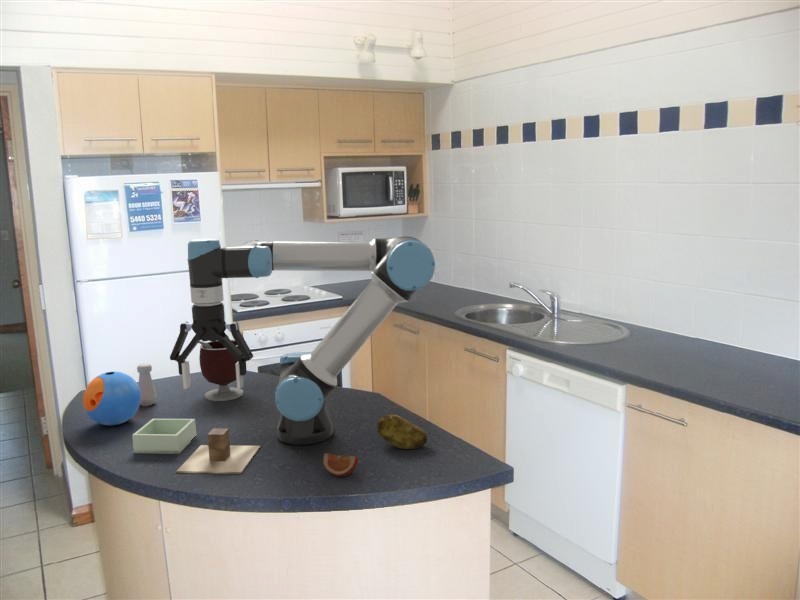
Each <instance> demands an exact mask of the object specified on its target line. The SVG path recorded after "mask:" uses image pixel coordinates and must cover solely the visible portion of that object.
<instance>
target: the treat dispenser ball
mask: <svg viewBox="0 0 800 600" xmlns="http://www.w3.org/2000/svg"><path fill="white" fill-rule="evenodd" d="M138 384H139V383H137V381H136V380H135V379H134V378H133V377H132V376H130V375H129V374H127V373H124V372H122V371H106V372H104V373H101V374H99V375H97V376H95V377H94V378H93V379H92V380H90V382H89V383H88V385H87V386H86V388H85V390H84V393H83V396H82V403H83V407H84V411H85V413H86V414H87V416H88V417H89V418H90V419H91V420H92V421H94V422H96V423H97V424H100V425H101V426H102V425H103V426H118V425H122V424H124V423H126V422H127V421H129V420H131V419H132V418H133V417H134V416H135V414H136V413H137V412H138V410H139V408H140V402H141V392H140V388H139V386H138Z"/></svg>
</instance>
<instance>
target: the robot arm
mask: <svg viewBox="0 0 800 600" xmlns="http://www.w3.org/2000/svg"><path fill="white" fill-rule="evenodd" d="M186 260H187V265H188V275H189V287H190V288H189V289H190V299H191V300H190V301H191V303H192V306H191V315H192V317H191V318H192V323H190V322H188V321H184V322H183V323H181V324H180V325H179V334H178V337H177V338H176V341H175V344H174V345H173V348H172V351H171V353H170V355H169V360H170V361H175V362H177V364H178V365H177V366H178V367H177V368H178V374H179V376H182V385H183V386H182V387H183V390H187V389H188V388H190V387H191V386H192V384H191V383H192V382H191V369H190V360H187V358H188V357H189V356H190V354H191V353H192V351H193V350H194V349H195V348H196V346H197V345H198V344H199V343H198V342H199V341H202V342H210V341H212V342H215V341H217V340H218V341H219V342H220V343H221V344H223V345H224V347H225V348H226V349H227V350H228V351H229V352H230V353H231V354H232V355H233V356H234V358H235V359H236V360H237V361H238V362H237V363H236V379H237V380H236V388H237V390H240V389H242V388H243V387H244V386H245V384H244V376H245V375H247V362H249V361H250V360H252V359H253V358H254V354H253V352H252V350H251V349H250V347H249V345H248V343H247V342H246V340H245V338H244V336H243V334H242V333H241V330H240V326H239V323H238V321H234V322H232V323H231V322H229V323H226V320H225V319H226V317H225V316H226V315H225V304H224V302H223V301H224V289H223V279H236V278H237V279H240V278H243V279H245V278H248V279H249V278H255V279H259V278H265V277H266V278H267V277H270V276H271V275H272V273H273V271H298V272H299V271H300V272H301V271H313V272H314V271H315V272H316V271H317V272H319V271H320V272H370V273H371V281H370V282H369V283H368V284H367V286H366V287H365V288H364V289H363V291H362V292H361V293H360V294H359V295H358V296H357V298H356V299H355V300H353V302H352V304H351V305H350V306H349V307H348V309H347V310H346V311H345V312H344V313H343V314H342V316H341V317H340V318H339V319H338V320H337V322H336V323H334V324H333V326H332V328H331V329H330V330H329V331H328V332H327V334H326V335H325V336H324V337H323V338H322V339H321V340H320V342H318V344H317V345H316V347H314V349H313V350H311V351H298V352H297V351H296V352H290V353H285V354H282V355H280V358H279V364H278V365H279V368H280V370H279V371H280V372H279V373H280V374H279V375H280V376H279V380H278V383H277V386H276V388H275V390H274V391H275V392H274V400H275V402H274V403H275V405H276V408H277V410H278V411H279V413H281V414H280V416H279V420H278V424H277V427H276V433H277V434H276V435H277V439H278V441H280V442H283V444H284V443H285V444H289V445H295V446H296V445H297V446H299V445H300V446H302V445H303V446H304V445H311V444H312V445H313V444H318V443H321V442H324V441H326V440H328V439H330V438H331V437H332V436H333V433H334V428H333V427H334V426H333V423H332V420H331V417H330V415H329V412H328V408H327V407H326V399H327V398H328V396H329V395H330V394H331V393H332V392H333V390H334V389H336V387H337V385H338V375H339V374H340V373H341V371H342V370H343V369H344V368H345V367H346V365H348V363H349V362H350V361H351V360H352V358H354V356H355V355H356V353H358V351H359V350H360V349H361V348H362V347H363V345H364V344H365V343H366V342H367V341H368V340H369V338H370V337H371V336H372V335H373V334H374V332H375V331H376V330H377V329H378V328H379V326H381V324H382V323H383V322H384V321H385V319H386V318H387V317H388V316H389V315H390V314H391V312H393V310H394V309H395V307H397V306H398V304H400V303H407V302H409V301H410V299H411V298H412V297H413V296H414V295H415V293H416V292H418V290H421V289H422V288H423V287H426V286H427V285H428V284H429V282H430V281H431V280H432V279H433V278H434V277H433V276H434V274H435V271H436V261H435V257H434V253H433V252H432V250H431V248H429V247H428V245H427V244H425V243H424V242H422V241H421V240H419V239H417V238H415V237H412V236H405V235H403V236H395V237H385V238H383V237H382V238H373V239H372V240H371V241H370V242H368V241H367V242H366V241H364V242H363V241H360V242H358V241H355V242H352V241H348V242H347V241H261V240H257V239H256V240H249V241H246V242H244V243H243V244H242V246H222V245H221V242H220V240H219V239H217V238H197V239H192V240H190V241H189V242H188V243H187V259H186ZM226 330H227V331H228V332H229V333H230V334H231V336H232V338H233V340H235V341H236V343H237V345H238V347H239V348H240V350H241V351H240V350H239V349H238V348H237V347H236V346H235V345H234V343H233V342H232V341H231V340H232V339H230V338H229V335H228V334H227V333H226V332H225V331H226ZM190 331H193V332H194V334H195V335H193V337H192V338H191V341H190V342H189V343H188V344H187V346H186V347H185V348H184V349H183V346H184V344H185V343H186V339H187V337H188V334H189V332H190ZM182 349H183V351H182ZM181 351H182V353H181ZM180 353H181V354H180Z"/></svg>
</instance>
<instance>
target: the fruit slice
mask: <svg viewBox="0 0 800 600" xmlns="http://www.w3.org/2000/svg"><path fill="white" fill-rule="evenodd" d="M322 460H323V461H322V463H323V466H324V468H325V469H326V471H328V472H329V473H330V474H331V475H333V476H337V477H346V476H348V475H350V474H352V473H353V472H354V471H355V469H356V468H357V465H358V464H359V458H358V457H357V456H356V455H347V454H342V453H341V454H340V455H338V454H333V453H326V452H324V453H323V458H322Z"/></svg>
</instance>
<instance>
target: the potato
mask: <svg viewBox="0 0 800 600" xmlns="http://www.w3.org/2000/svg"><path fill="white" fill-rule="evenodd" d="M375 427H376V429H377V433H378V434H379V436H380V437H382V439H383V440H384V441H386V442H387V443H390V444H391V445H392V446H394V447H395V448H398V449H403V450H412V449H413V450H414V449H419V448H421V447H423V446H425V444H427V442H428V436H427V433H426V431H425V430H424V429H423V428H421V427H420V426H418V425H416V424H414V423H412V422H411V421H410V420H407V419H406V418H403V417H402V416H400V415H398V414H384V415H383V416H382V417H380V418H379V419H377V421H376V426H375ZM418 447H419V448H418Z"/></svg>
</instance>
